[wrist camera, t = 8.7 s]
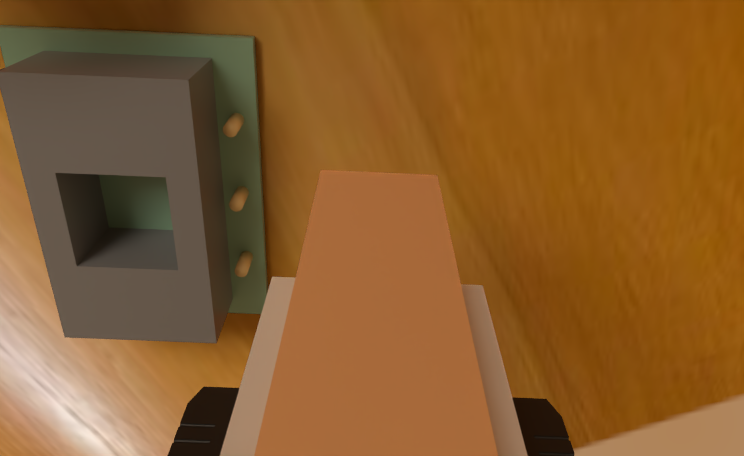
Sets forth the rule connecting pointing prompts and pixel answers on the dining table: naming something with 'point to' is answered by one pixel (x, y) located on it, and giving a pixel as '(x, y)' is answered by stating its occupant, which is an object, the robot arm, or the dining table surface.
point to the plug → (377, 330)
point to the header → (141, 176)
